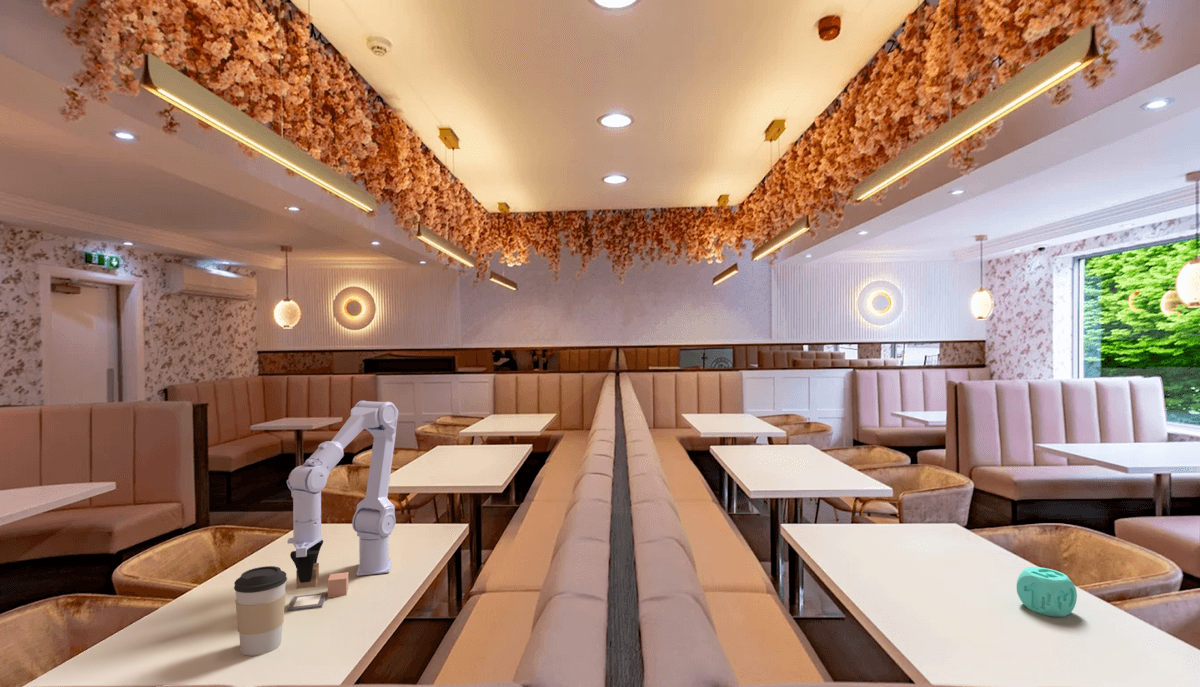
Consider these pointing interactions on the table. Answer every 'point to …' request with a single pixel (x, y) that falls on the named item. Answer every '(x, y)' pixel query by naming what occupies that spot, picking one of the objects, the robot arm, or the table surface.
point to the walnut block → (313, 580)
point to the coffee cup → (260, 609)
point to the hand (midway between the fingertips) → (307, 577)
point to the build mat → (307, 602)
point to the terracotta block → (338, 584)
